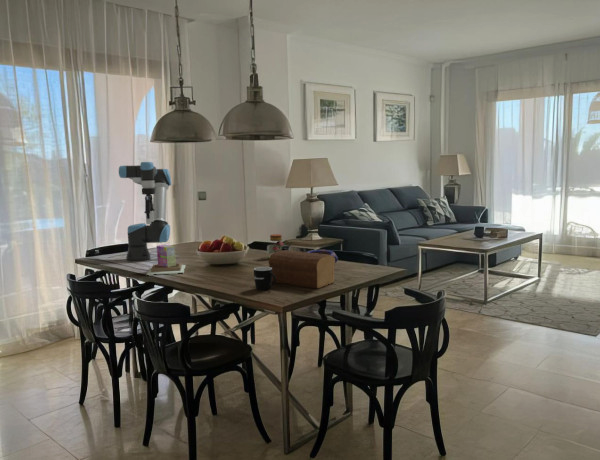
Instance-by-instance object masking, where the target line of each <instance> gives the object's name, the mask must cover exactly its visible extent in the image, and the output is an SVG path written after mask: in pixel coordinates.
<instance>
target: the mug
mask: <svg viewBox="0 0 600 460" xmlns="http://www.w3.org/2000/svg"><path fill="white" fill-rule="evenodd" d="M272 276H273V277H274V282H272ZM253 277H254V278H253V280H254V283H255V285H254V286H255V289H256V290H257V291H268V290H270V289H271V287H272V286H274V285H275V284H276V283H275V282H276V277H275V275H274V274H273V273H272V268H270V267H269V266H260V267H259V266H258V267H254V268H253Z"/></svg>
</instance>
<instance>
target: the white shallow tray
mask: <svg viewBox="0 0 600 460" xmlns="http://www.w3.org/2000/svg"><path fill="white" fill-rule="evenodd" d="M184 269H186V264H182V262H179V263H177V262H176V266H172V267H164V266H159V265H158V263H156V264H152V265H151V266H150V267H149V270H148V271H147V272H146V276H147V275H149V276H154V275H153V274H169V275H178V274H177V273H183V274H184V273H185V270H184Z"/></svg>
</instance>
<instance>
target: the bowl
mask: <svg viewBox="0 0 600 460" xmlns="http://www.w3.org/2000/svg"><path fill="white" fill-rule="evenodd" d="M307 252H308V253H318V254H327V255H331V256H333V257H334V258H335V264H336V263H337V262H338V260H339V257H338V256H337V254H336V253H335V252H334V251H332V250H330V249H329V250H328V249H312V250H308V251H307Z"/></svg>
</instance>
